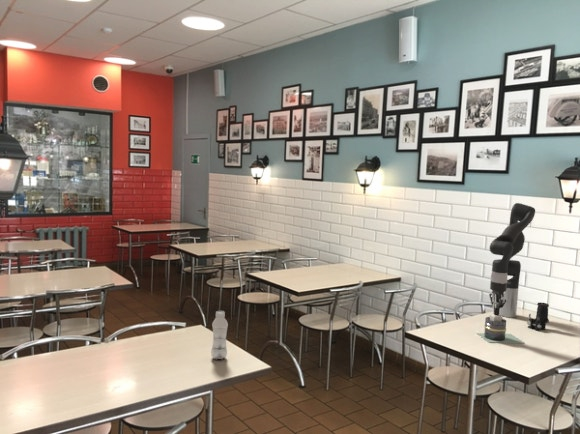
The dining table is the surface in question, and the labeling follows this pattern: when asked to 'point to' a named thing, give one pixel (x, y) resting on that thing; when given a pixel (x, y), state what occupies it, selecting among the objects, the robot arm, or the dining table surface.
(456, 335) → the dining table surface
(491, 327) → the grey faceted ring
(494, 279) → the robot arm
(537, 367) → the dining table surface
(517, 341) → the mat
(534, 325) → the scope
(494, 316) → the white stepped cube
